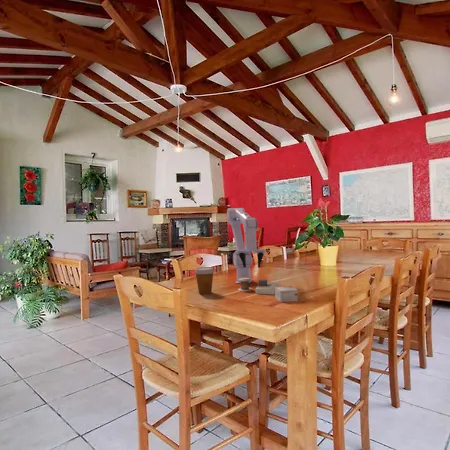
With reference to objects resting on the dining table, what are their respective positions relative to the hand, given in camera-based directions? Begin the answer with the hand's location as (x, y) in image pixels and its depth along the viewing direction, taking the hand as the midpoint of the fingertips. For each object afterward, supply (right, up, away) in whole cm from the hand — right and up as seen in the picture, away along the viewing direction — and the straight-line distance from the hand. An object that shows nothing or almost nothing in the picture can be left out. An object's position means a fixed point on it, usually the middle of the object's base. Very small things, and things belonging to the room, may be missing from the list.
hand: (251, 267), depth 172 cm
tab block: (+5, -10, -7) cm, 14 cm away
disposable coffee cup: (-24, -12, -8) cm, 28 cm away
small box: (+13, -11, -27) cm, 32 cm away
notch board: (+7, -10, -8) cm, 15 cm away
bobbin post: (-4, -11, -5) cm, 13 cm away
